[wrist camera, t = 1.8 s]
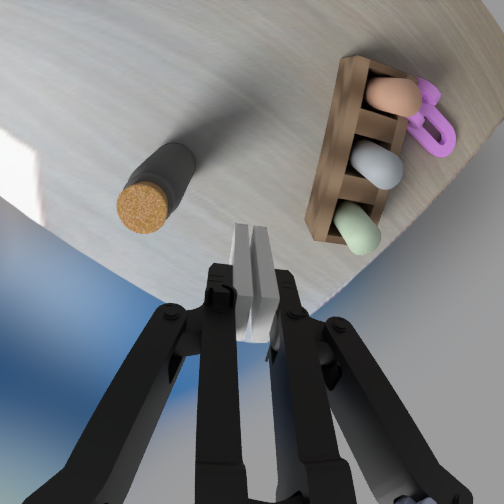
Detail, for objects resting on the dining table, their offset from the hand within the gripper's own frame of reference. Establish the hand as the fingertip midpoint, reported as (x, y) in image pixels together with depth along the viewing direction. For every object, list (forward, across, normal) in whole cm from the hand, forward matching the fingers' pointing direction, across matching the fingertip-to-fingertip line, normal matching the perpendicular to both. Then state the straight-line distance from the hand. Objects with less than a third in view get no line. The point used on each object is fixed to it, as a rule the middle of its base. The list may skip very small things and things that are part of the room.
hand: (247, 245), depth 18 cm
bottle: (+23, -9, -2) cm, 24 cm away
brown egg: (+18, +14, +12) cm, 26 cm away
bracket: (+22, +24, +11) cm, 34 cm away
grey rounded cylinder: (+18, +14, +4) cm, 23 cm away
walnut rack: (+22, +14, +4) cm, 27 cm away
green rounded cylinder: (+18, +14, -4) cm, 23 cm away
